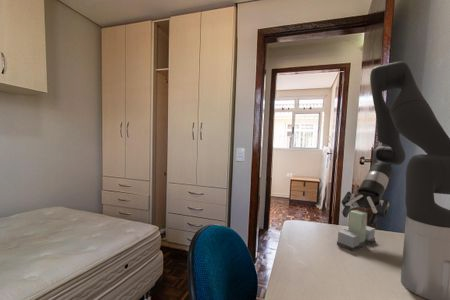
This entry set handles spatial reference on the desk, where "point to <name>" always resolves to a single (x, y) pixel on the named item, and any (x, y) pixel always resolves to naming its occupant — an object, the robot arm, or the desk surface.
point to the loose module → (358, 223)
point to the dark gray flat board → (358, 245)
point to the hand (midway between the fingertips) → (356, 219)
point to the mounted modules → (354, 236)
